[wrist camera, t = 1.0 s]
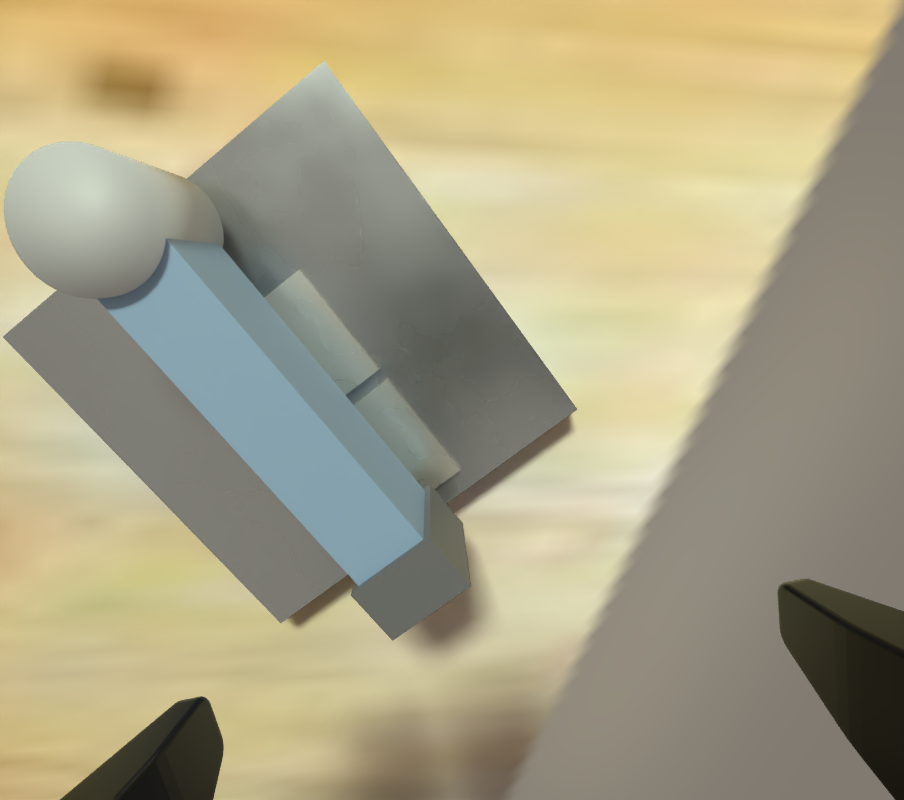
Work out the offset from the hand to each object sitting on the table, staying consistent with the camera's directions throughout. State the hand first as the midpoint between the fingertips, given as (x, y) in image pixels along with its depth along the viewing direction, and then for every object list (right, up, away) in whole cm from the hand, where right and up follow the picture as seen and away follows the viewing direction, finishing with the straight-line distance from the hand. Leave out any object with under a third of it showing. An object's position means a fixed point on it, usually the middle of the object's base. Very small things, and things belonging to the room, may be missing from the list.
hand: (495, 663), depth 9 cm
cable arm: (-5, +5, +7) cm, 10 cm away
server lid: (-5, +5, +9) cm, 12 cm away
